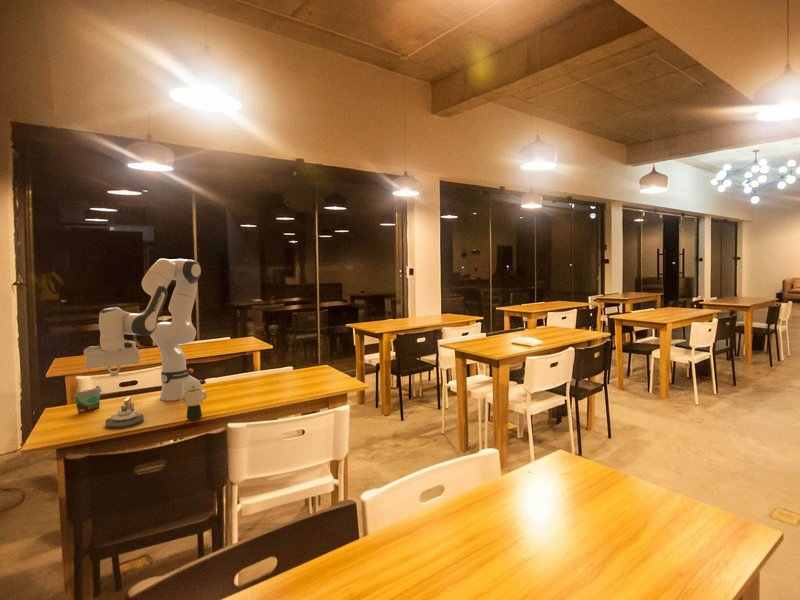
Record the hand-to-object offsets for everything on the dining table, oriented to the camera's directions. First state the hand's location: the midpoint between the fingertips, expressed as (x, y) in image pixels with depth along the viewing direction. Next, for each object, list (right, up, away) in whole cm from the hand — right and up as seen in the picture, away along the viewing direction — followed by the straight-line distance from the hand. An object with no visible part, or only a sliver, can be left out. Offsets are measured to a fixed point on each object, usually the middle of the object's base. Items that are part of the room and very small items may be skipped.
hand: (114, 375), depth 194 cm
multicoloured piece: (+7, -17, -3) cm, 19 cm away
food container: (-19, -19, +14) cm, 30 cm away
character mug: (+35, -19, 0) cm, 40 cm away
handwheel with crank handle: (+7, -20, -4) cm, 21 cm away
